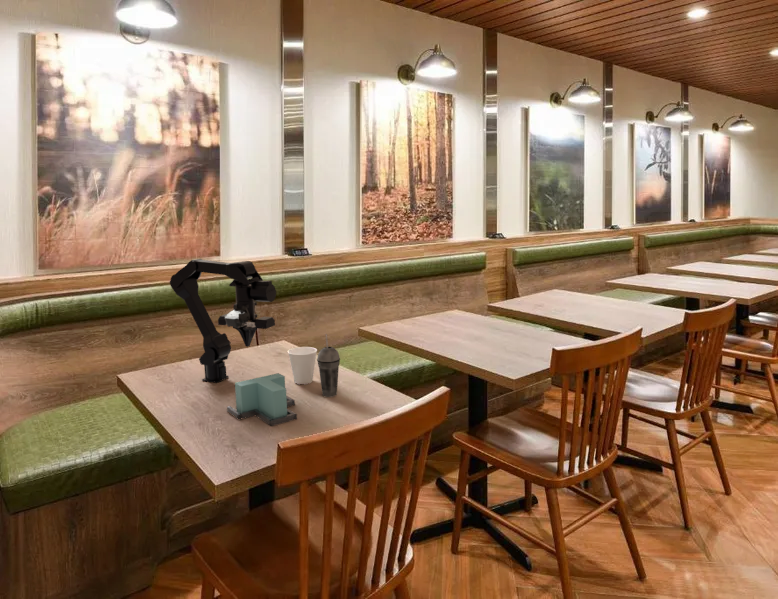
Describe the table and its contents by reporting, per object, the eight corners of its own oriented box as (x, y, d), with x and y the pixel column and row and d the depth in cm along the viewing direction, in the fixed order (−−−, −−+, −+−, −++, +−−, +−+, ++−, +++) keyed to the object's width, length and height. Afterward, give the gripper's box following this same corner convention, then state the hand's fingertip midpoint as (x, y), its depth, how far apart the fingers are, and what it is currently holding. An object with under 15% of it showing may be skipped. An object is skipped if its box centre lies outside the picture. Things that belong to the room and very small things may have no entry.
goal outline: (227, 411, 170) (226, 406, 170) (282, 397, 181) (281, 393, 181) (254, 430, 156) (254, 425, 156) (312, 414, 167) (311, 409, 167)
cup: (312, 387, 190) (311, 355, 188) (284, 385, 192) (282, 353, 190) (322, 378, 200) (321, 347, 198) (294, 376, 202) (293, 346, 200)
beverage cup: (344, 392, 186) (343, 331, 182) (335, 399, 179) (333, 336, 175) (324, 389, 188) (322, 329, 184) (314, 397, 181) (311, 335, 178)
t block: (236, 412, 170) (234, 382, 168) (279, 401, 178) (278, 373, 177) (258, 426, 159) (256, 395, 157) (302, 414, 168) (301, 384, 166)
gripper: (205, 302, 185) (208, 350, 188) (255, 306, 178) (257, 355, 181) (227, 296, 195) (230, 341, 198) (274, 300, 189) (277, 346, 191)
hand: (247, 346), depth 192 cm, fingers closed
